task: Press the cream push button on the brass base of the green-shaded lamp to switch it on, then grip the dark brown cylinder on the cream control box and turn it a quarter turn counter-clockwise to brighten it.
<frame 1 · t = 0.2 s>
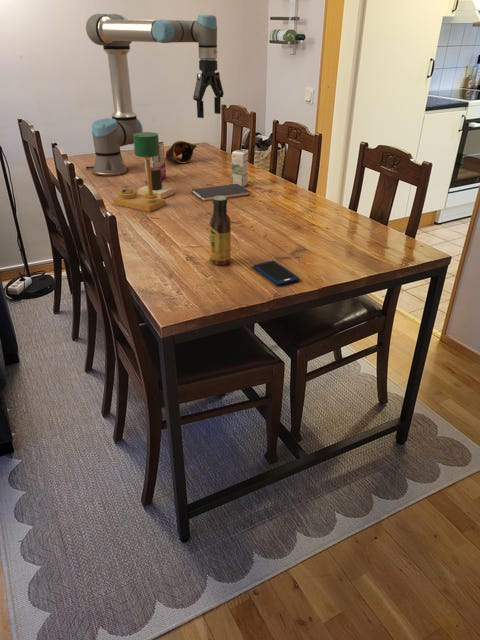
hand: (209, 115, 207), 28 cm above the table, tool pointing down, fingers open, 13 cm apart
lamp: (151, 197, 186), resting on lamp base
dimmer: (155, 194, 202), on the table
sauce bottle: (220, 262, 145), on the table
dark brown cylinder: (154, 178, 199), point 7 cm above the table, hinge at 0.0°
notebook: (221, 194, 204), on the table
candy bar box: (156, 180, 222), on the table
lamp switch: (126, 190, 191), point 5 cm above the table, slide at 0.1 cm
cell phone: (275, 274, 138), on the table
lamp base: (139, 204, 191), on the table
syrup box: (239, 185, 216), on the table
pot: (181, 161, 252), on the table
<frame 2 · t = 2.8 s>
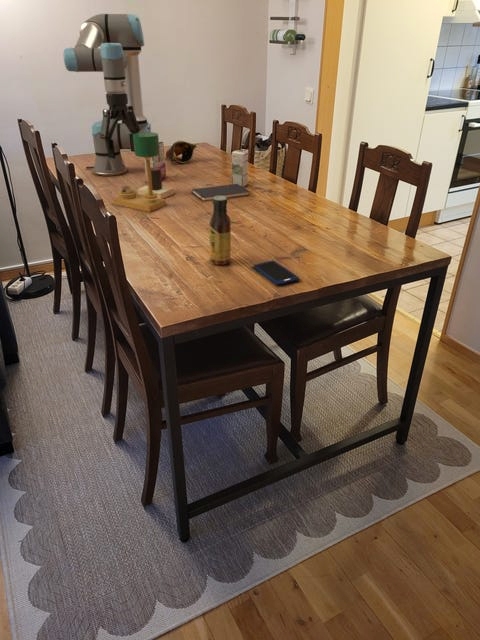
hand: (123, 154, 183), 18 cm above the table, tool pointing down, fingers open, 12 cm apart
nothing on the table moved.
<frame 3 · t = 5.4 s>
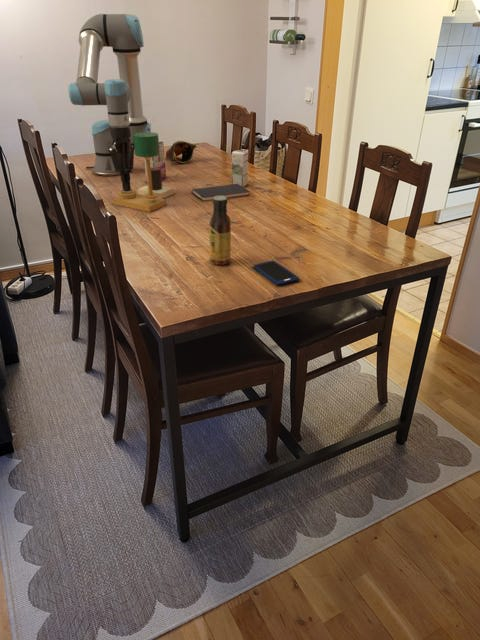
hand: (126, 189, 190), 5 cm above the table, tool pointing down, fingers closed
lamp switch: (127, 192, 191), point 4 cm above the table, slide at -0.7 cm, touching gripper
everything else where it was.
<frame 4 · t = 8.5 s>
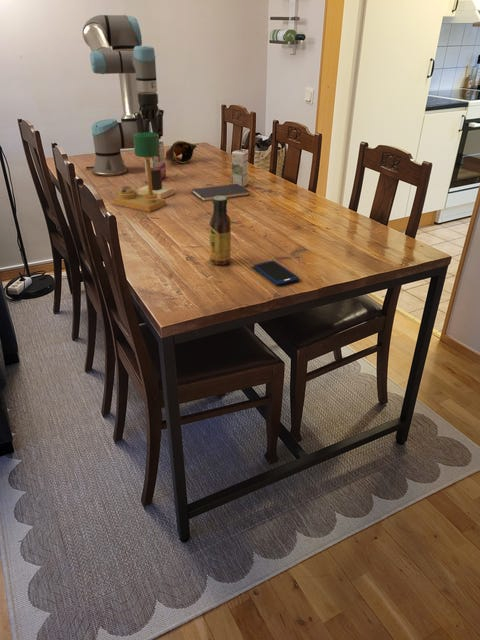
hand: (152, 156, 194), 16 cm above the table, tool pointing down, fingers open, 3 cm apart
lamp switch: (126, 190, 191), point 5 cm above the table, slide at 0.1 cm
everything else where it was.
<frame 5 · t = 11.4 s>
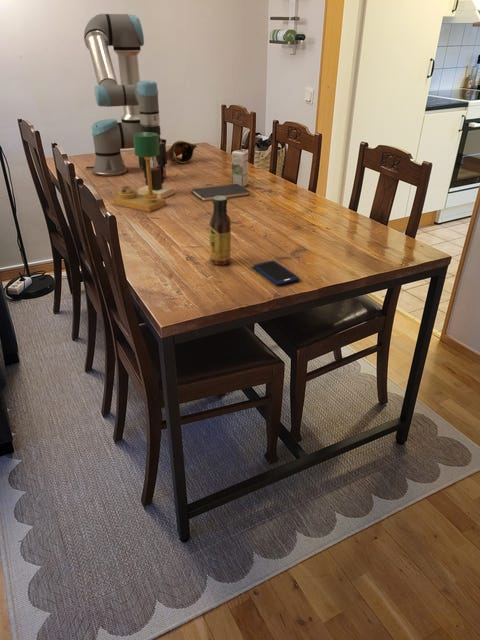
hand: (155, 184, 200), 4 cm above the table, tool pointing down, fingers closed on dark brown cylinder, 6 cm apart
dark brown cylinder: (154, 178, 199), point 7 cm above the table, hinge at 0.0°, touching gripper
everything else where it was.
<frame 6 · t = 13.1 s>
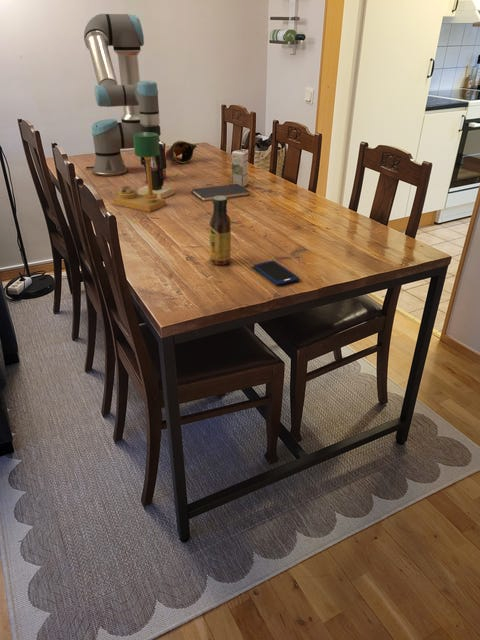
hand: (155, 184, 200), 4 cm above the table, tool pointing down, fingers closed on dark brown cylinder, 6 cm apart
dark brown cylinder: (154, 178, 199), point 7 cm above the table, hinge at 90.0°, touching gripper
everything else where it was.
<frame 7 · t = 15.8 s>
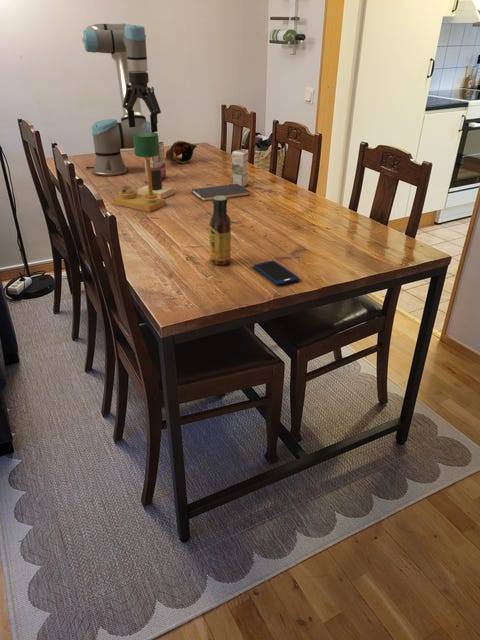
hand: (143, 129, 198), 24 cm above the table, tool pointing down, fingers open, 13 cm apart
dark brown cylinder: (154, 178, 199), point 7 cm above the table, hinge at 90.1°
everything else where it was.
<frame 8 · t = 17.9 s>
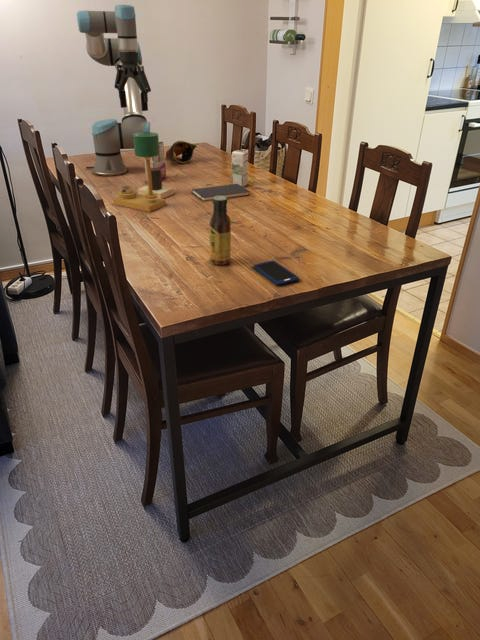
hand: (134, 109, 201), 31 cm above the table, tool pointing down, fingers open, 13 cm apart
nothing on the table moved.
at the end: lamp switch pushed in 1.2 cm at the most during the clip, back to where it started at the end; lamp switch slide at 0.1 cm; dark brown cylinder at +90° (first picture: +0°) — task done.
